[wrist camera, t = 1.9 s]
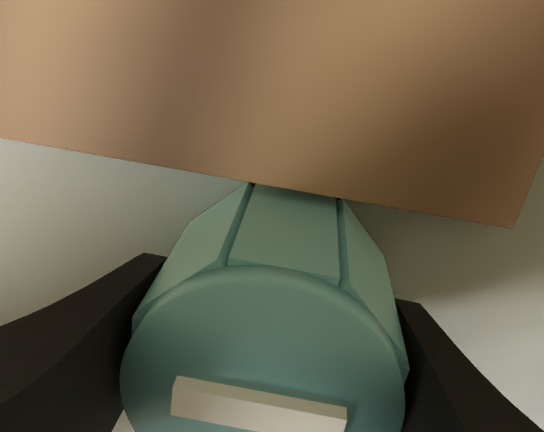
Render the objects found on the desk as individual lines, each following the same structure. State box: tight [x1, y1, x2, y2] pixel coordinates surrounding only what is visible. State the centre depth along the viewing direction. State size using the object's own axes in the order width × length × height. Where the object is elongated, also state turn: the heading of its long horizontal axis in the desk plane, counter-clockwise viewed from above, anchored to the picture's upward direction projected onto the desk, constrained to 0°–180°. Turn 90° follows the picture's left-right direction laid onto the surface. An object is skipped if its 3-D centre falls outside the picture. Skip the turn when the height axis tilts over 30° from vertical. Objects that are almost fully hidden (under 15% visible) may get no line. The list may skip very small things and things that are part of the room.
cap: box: [119, 182, 410, 432], centre depth 11 cm, size 5×5×5 cm
